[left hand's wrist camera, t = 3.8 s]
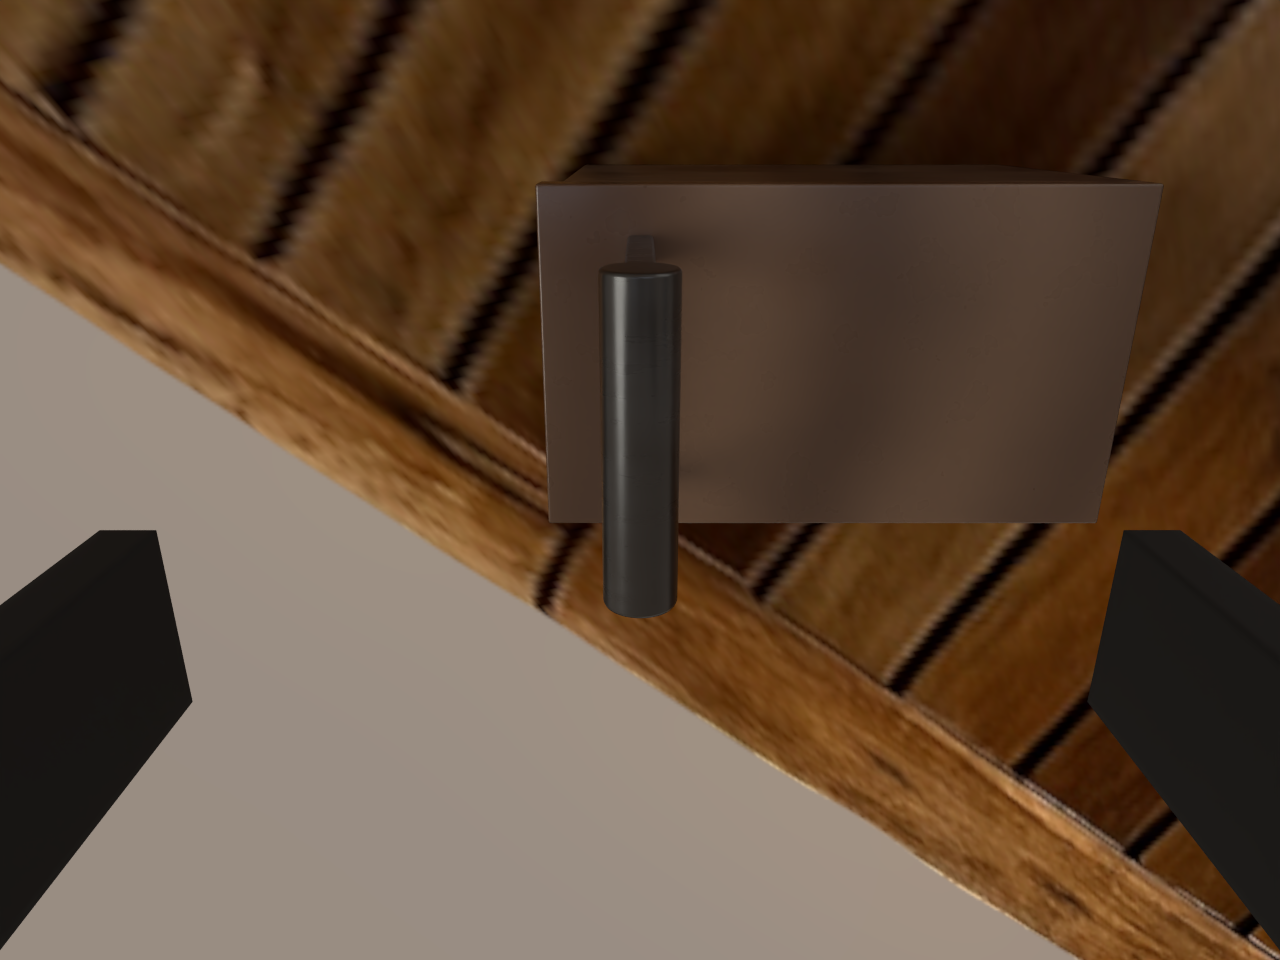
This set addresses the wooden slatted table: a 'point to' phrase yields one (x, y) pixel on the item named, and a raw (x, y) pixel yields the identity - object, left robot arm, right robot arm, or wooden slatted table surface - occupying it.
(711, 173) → the chest
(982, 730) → the wooden slatted table surface
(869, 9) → the wooden slatted table surface
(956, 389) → the lid
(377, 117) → the wooden slatted table surface
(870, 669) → the wooden slatted table surface
